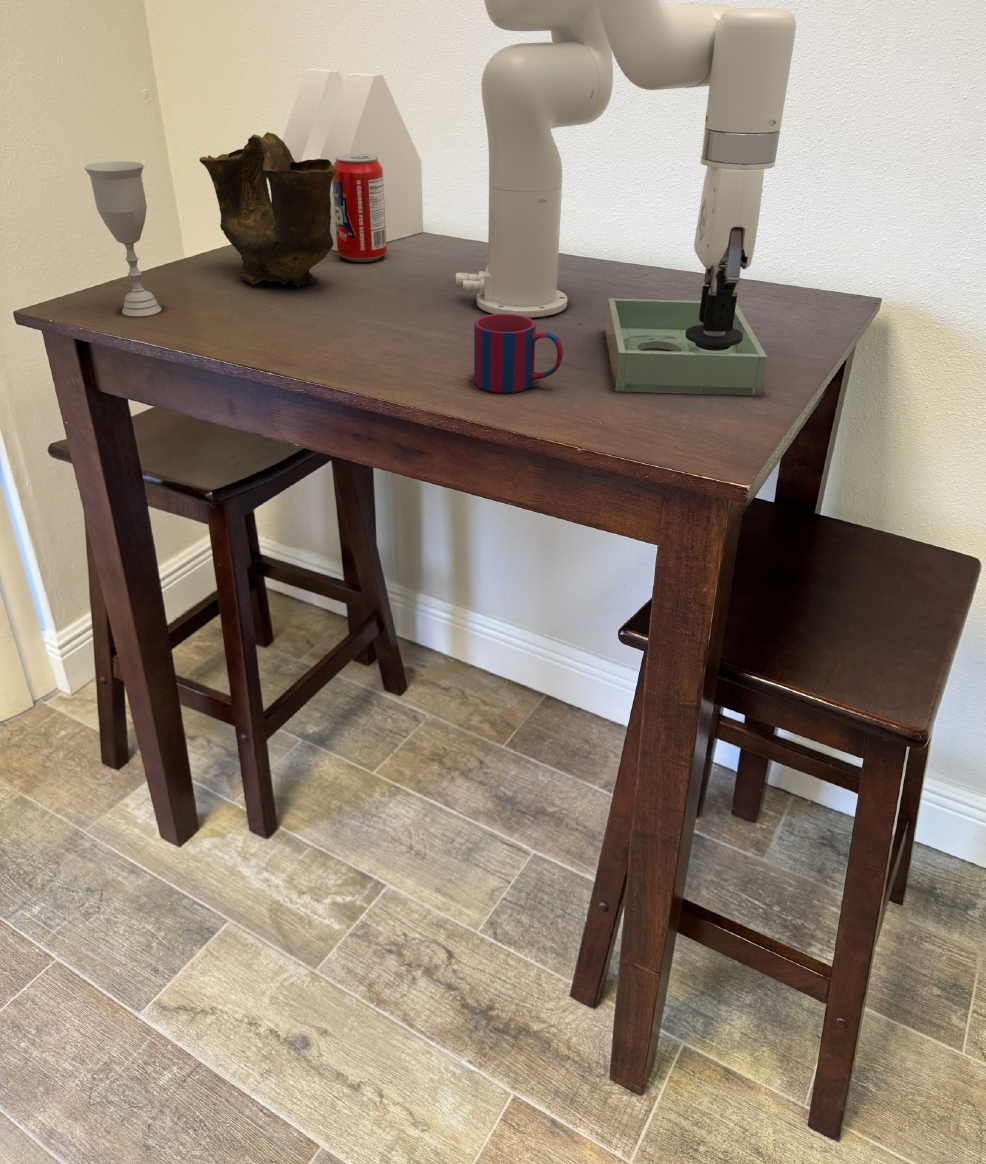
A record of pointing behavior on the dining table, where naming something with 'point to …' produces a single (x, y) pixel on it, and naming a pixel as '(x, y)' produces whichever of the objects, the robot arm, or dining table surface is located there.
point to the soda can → (359, 207)
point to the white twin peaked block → (359, 139)
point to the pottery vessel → (274, 209)
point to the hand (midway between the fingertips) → (715, 324)
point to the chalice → (124, 220)
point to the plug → (713, 338)
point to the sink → (679, 366)
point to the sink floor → (674, 342)
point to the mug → (508, 353)
